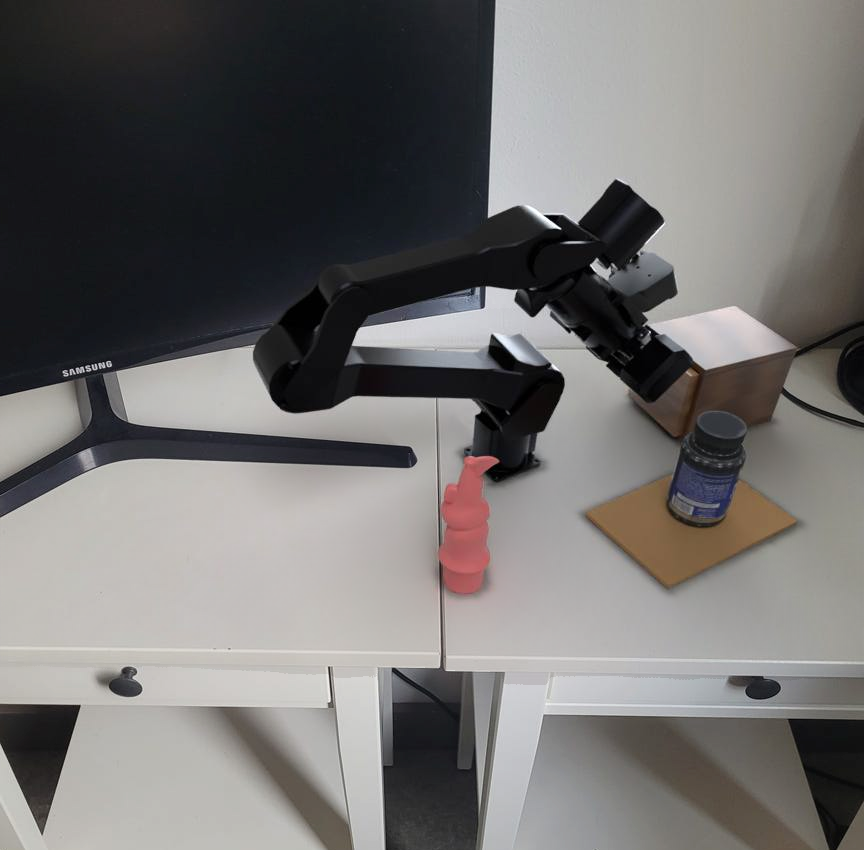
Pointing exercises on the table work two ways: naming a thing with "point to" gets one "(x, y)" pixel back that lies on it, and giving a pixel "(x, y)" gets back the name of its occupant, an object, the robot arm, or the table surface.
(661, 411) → the drawer
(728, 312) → the cabinet
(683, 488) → the pill bottle
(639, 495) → the mat
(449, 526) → the figurine
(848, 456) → the table surface
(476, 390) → the robot arm
